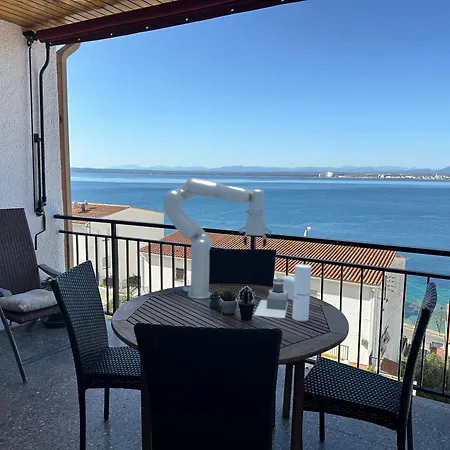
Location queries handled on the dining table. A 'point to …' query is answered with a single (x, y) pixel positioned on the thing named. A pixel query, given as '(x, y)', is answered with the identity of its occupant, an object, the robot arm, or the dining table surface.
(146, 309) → the dining table surface
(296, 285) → the cylindrical container
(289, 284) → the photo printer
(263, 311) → the board
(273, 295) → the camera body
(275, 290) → the lens
